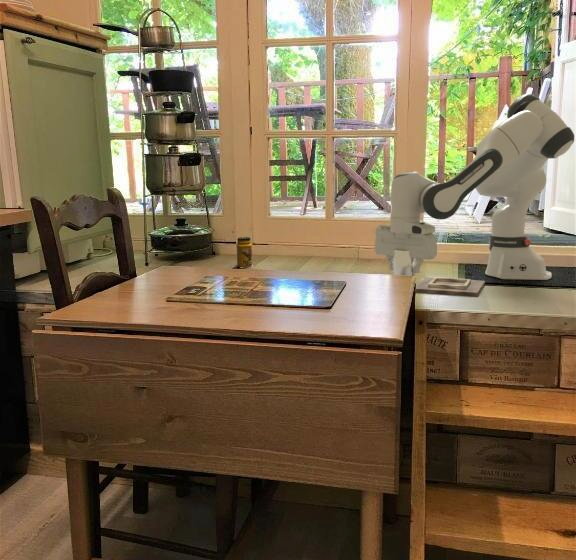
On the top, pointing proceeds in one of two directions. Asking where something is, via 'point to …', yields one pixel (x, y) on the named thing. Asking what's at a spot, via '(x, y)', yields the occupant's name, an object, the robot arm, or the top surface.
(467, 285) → the walnut board
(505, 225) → the robot arm
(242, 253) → the condiment
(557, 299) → the top surface
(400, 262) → the beer glass
